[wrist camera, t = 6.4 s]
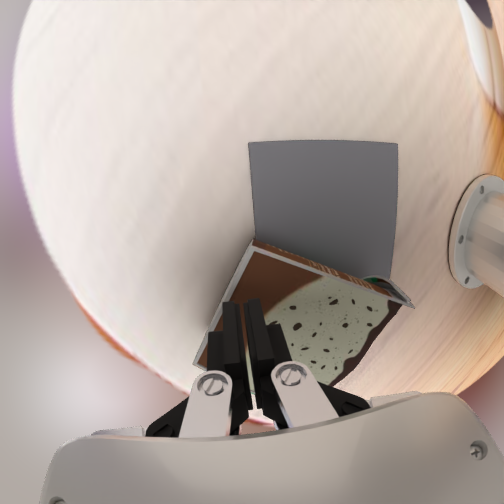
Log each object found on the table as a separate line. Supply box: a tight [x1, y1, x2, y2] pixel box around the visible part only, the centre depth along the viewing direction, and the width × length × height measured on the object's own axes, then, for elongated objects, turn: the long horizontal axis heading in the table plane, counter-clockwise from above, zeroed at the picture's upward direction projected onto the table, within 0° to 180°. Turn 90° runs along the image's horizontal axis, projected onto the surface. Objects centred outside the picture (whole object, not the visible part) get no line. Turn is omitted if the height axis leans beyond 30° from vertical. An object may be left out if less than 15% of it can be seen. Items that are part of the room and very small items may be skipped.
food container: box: [193, 239, 415, 395], centre depth 18 cm, size 12×6×10 cm
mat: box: [248, 140, 398, 279], centre depth 19 cm, size 11×16×1 cm
